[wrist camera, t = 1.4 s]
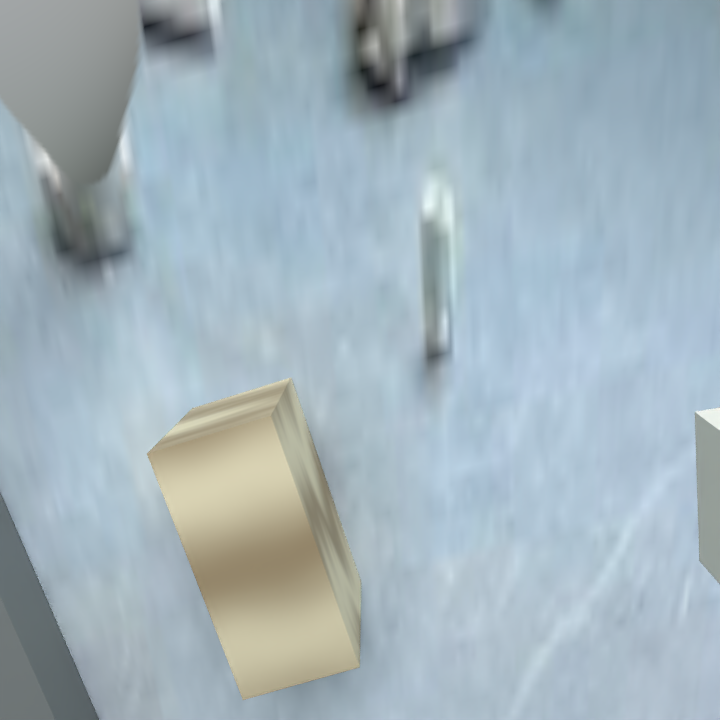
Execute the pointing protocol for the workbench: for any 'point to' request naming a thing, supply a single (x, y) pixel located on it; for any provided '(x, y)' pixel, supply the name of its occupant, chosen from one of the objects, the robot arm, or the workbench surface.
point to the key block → (263, 538)
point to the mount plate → (32, 644)
